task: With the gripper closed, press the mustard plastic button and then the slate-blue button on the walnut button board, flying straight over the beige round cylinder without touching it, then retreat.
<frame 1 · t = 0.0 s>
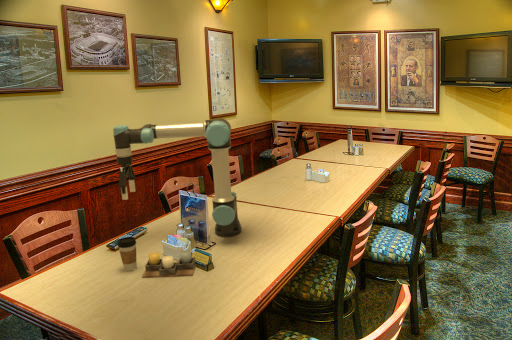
hand: (129, 195, 231), 28 cm above the table, fingers open, 13 cm apart
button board: (170, 270, 207), on the table
coffee cup: (130, 268, 211), on the table
slate button: (185, 257, 207), point 5 cm above the table, slide at 0.0 cm
mustard button: (154, 258, 207), point 5 cm above the table, slide at 0.0 cm
beige round cylinder: (168, 262, 203), point 5 cm above the table, slide at 0.0 cm
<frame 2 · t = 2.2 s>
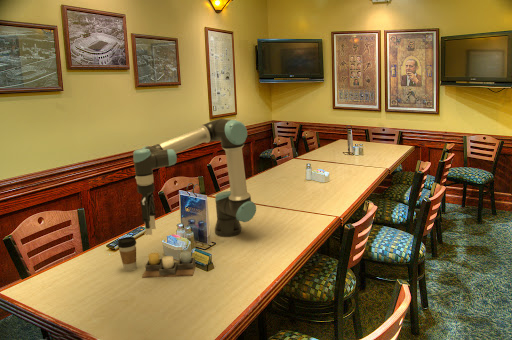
hand: (150, 231, 204), 19 cm above the table, fingers open, 6 cm apart
nothing on the table moved.
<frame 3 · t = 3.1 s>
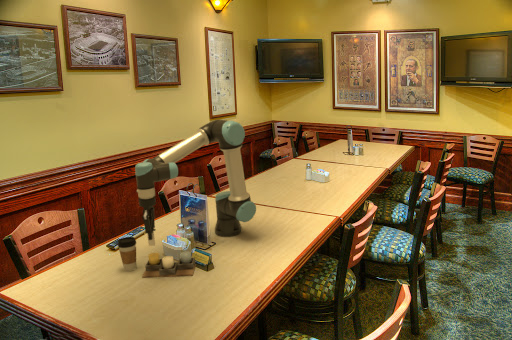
hand: (151, 245, 206), 12 cm above the table, fingers closed
nothing on the table moved.
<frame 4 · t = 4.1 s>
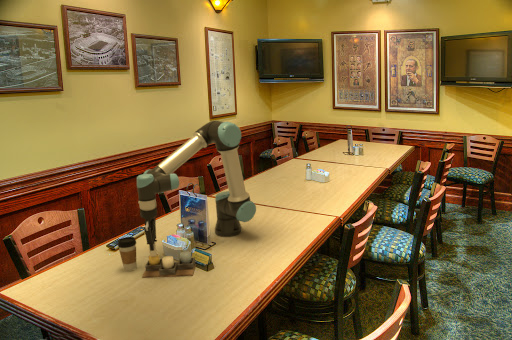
hand: (153, 255, 207), 7 cm above the table, fingers closed
mustard button: (154, 260, 208), point 5 cm above the table, slide at 0.8 cm, touching gripper
everything else where it was.
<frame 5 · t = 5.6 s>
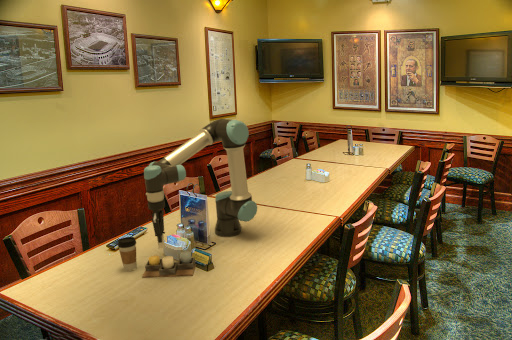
hand: (161, 247, 206), 11 cm above the table, fingers closed
mustard button: (154, 261, 208), point 4 cm above the table, slide at 1.5 cm
everything else where it was.
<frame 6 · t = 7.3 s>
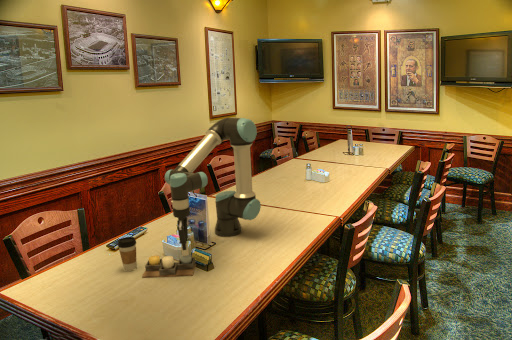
hand: (185, 255, 207), 6 cm above the table, fingers closed
slate button: (186, 259, 207), point 4 cm above the table, slide at 1.2 cm, touching gripper
everything else where it was.
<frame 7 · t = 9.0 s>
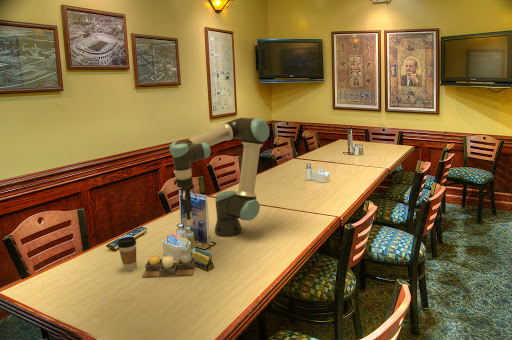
hand: (189, 224, 211), 19 cm above the table, fingers closed
slate button: (186, 260, 207), point 4 cm above the table, slide at 1.5 cm
everything else where it was.
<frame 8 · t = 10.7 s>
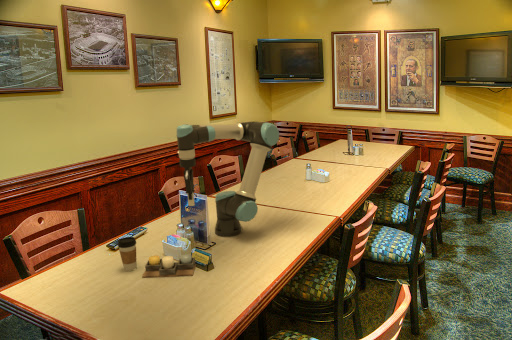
hand: (191, 205, 215), 26 cm above the table, fingers closed
nothing on the table moved.
at the end: mustard button slide at 1.5 cm; slate button slide at 1.5 cm; beige round cylinder slide at 0.0 cm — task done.
